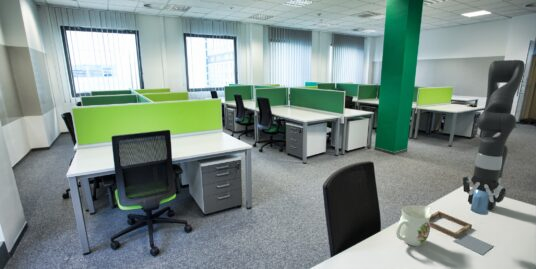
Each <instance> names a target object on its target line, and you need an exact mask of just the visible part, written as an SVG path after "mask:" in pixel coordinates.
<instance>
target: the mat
mask: <svg viewBox="0 0 536 269" xmlns="http://www.w3.org/2000/svg"><path fill="white" fill-rule="evenodd" d="M453 242H454V243H456V244H457V245H459V246H462V247H464V248H467V249H469V250H471V251H472V252H474V253H477V254H479V255H481V256H484V254H486V253H488V251H490V250H491V249H493V247H495V246H494V245H492V244H490V243H489V242H485V241H483V240H481V239H479V238H477V237H474V236H472V235H469V234H467V233H463V234H462V235H460V236H459V237H457V238H455V239H454V240H453Z"/></svg>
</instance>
